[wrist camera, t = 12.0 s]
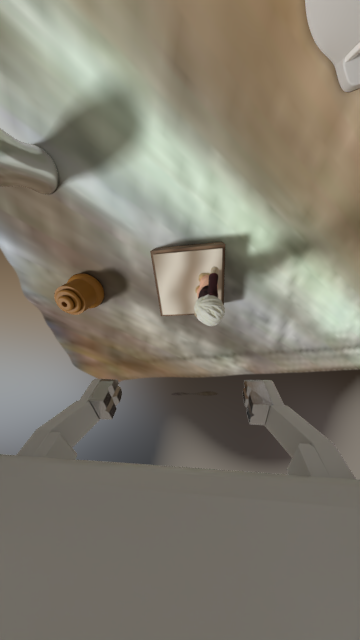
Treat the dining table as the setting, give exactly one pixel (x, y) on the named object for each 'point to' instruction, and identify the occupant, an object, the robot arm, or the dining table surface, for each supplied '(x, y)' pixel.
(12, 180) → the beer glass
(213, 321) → the grandmother figurine
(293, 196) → the dining table surface
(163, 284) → the plinth
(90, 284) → the ornamental finial
